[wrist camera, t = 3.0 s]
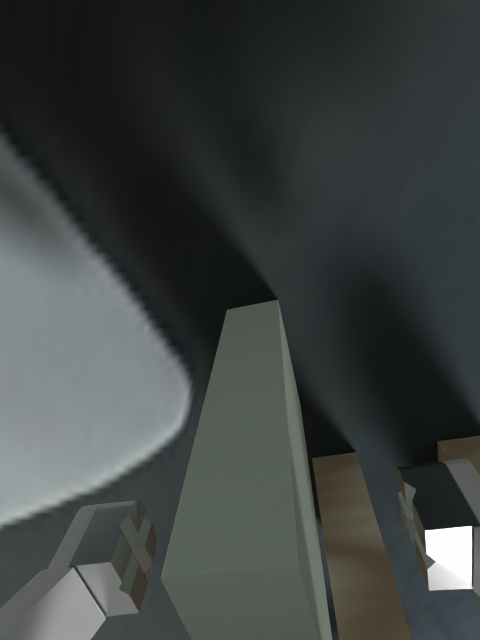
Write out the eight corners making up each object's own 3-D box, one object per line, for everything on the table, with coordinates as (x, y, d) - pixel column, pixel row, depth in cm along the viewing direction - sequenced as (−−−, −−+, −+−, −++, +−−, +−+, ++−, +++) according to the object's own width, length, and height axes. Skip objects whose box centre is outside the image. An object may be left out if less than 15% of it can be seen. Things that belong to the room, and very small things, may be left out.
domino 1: (255, 412, 16) (241, 738, 7) (226, 309, 14) (159, 578, 5) (300, 406, 16) (344, 736, 7) (278, 299, 14) (298, 565, 5)
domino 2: (327, 531, 19) (383, 873, 10) (311, 458, 17) (363, 799, 8) (367, 527, 19) (462, 877, 10) (355, 452, 17) (460, 801, 8)
